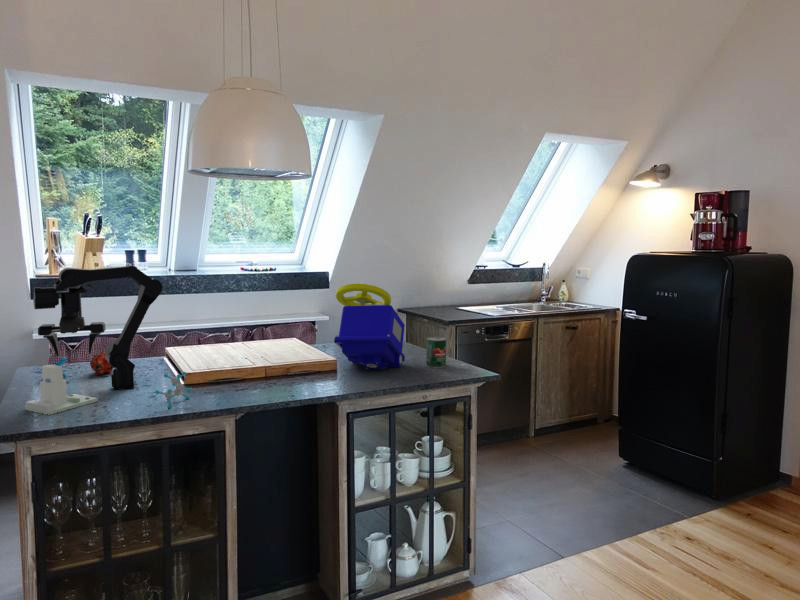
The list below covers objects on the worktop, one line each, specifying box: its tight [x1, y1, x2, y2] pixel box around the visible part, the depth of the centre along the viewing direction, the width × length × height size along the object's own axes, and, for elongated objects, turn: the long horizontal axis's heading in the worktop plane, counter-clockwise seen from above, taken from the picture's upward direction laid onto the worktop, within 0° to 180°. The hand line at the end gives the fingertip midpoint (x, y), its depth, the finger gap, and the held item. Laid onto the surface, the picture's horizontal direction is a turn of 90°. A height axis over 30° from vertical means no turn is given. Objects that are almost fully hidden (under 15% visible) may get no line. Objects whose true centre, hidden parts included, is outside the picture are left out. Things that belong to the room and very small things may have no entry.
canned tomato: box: [425, 336, 447, 369], centre depth 242 cm, size 8×8×11 cm
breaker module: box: [39, 364, 68, 406], centre depth 184 cm, size 5×6×12 cm
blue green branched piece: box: [42, 356, 68, 379], centre depth 219 cm, size 11×6×10 cm
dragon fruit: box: [89, 351, 115, 376], centre depth 226 cm, size 8×8×12 cm
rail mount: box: [24, 393, 99, 416], centre depth 186 cm, size 16×11×2 cm
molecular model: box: [154, 371, 194, 409], centre depth 190 cm, size 12×14×15 cm
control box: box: [333, 282, 406, 371], centre depth 239 cm, size 26×27×30 cm
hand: (74, 354), depth 197 cm, fingers open, 9 cm apart
